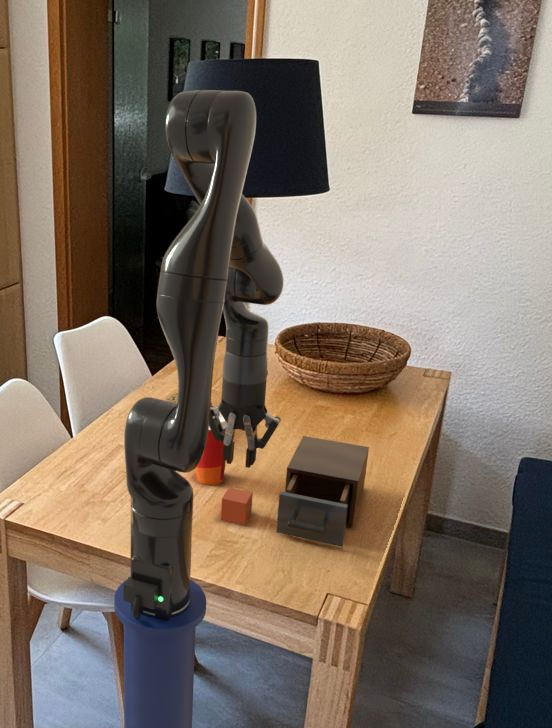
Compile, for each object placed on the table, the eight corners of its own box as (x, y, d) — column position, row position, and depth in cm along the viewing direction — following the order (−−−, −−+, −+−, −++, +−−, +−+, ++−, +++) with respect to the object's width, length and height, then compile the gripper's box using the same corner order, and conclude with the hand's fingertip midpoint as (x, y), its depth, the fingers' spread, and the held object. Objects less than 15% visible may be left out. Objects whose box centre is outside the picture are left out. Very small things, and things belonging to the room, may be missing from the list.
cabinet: (352, 527, 139) (358, 481, 136) (283, 513, 144) (286, 467, 141) (363, 490, 152) (369, 447, 148) (299, 478, 157) (303, 435, 153)
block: (244, 525, 140) (246, 503, 139) (220, 520, 142) (221, 498, 141) (251, 513, 144) (252, 491, 143) (227, 508, 146) (228, 486, 144)
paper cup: (209, 465, 162) (211, 404, 157) (236, 479, 156) (240, 416, 151) (182, 477, 157) (184, 415, 152) (209, 492, 152) (212, 427, 147)
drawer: (337, 562, 128) (342, 521, 125) (269, 546, 133) (272, 507, 130) (353, 509, 144) (358, 472, 141) (292, 497, 148) (295, 460, 145)
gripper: (198, 376, 132) (195, 465, 139) (280, 388, 127) (273, 480, 133) (212, 362, 139) (208, 448, 145) (290, 373, 133) (282, 462, 140)
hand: (239, 463), depth 139 cm, fingers open, 3 cm apart
